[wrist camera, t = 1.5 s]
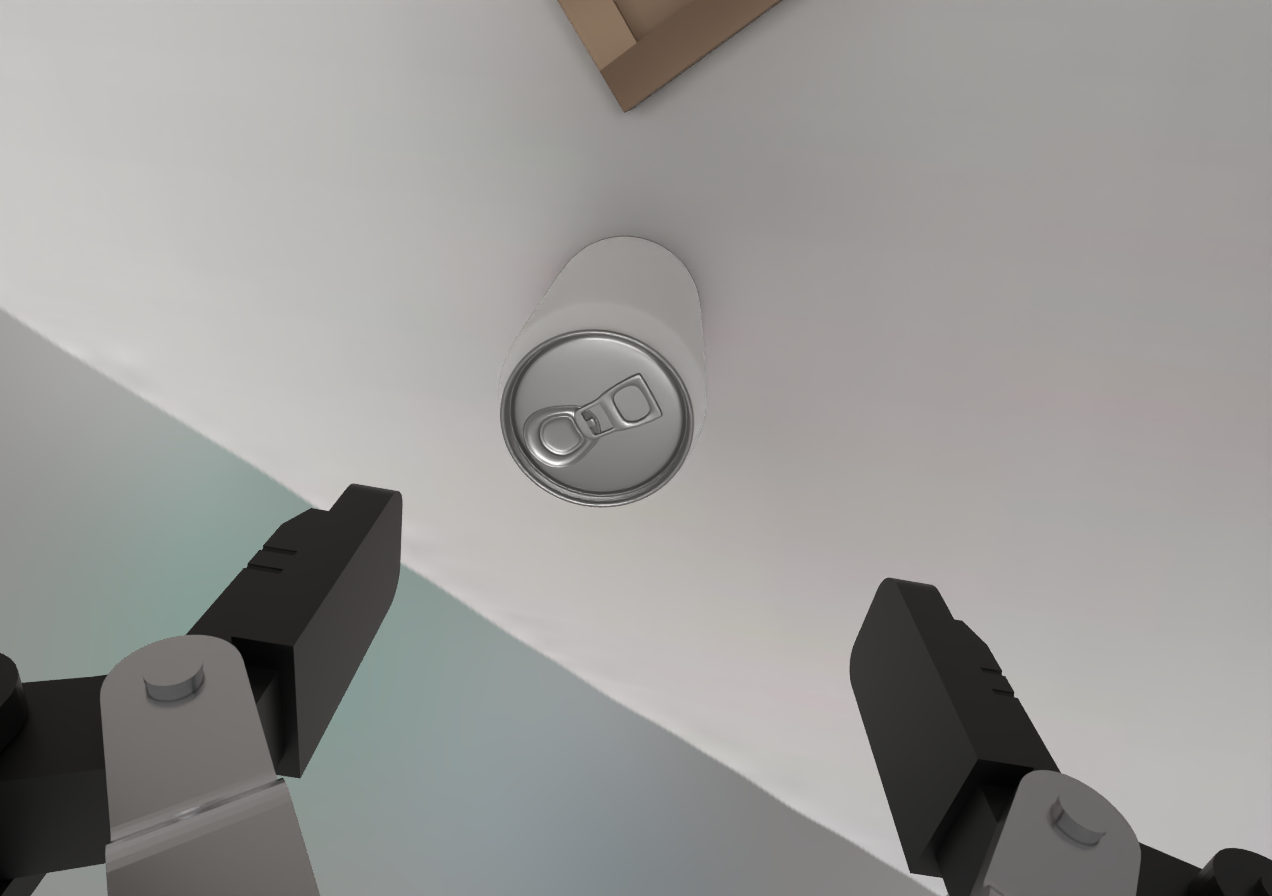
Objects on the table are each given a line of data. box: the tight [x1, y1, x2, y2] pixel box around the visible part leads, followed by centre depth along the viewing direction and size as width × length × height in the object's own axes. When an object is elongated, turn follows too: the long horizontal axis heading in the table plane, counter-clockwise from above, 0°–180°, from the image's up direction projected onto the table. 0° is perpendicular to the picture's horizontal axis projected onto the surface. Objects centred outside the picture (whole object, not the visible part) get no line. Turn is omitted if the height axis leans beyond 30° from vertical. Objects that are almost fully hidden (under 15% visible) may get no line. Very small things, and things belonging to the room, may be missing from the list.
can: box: [499, 237, 707, 507], centre depth 26 cm, size 6×6×12 cm
